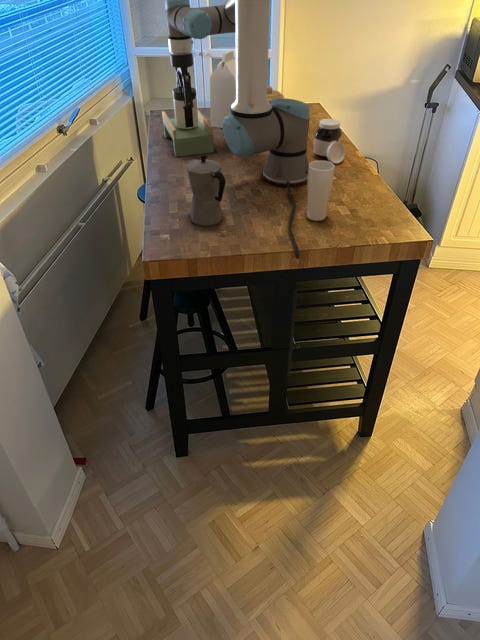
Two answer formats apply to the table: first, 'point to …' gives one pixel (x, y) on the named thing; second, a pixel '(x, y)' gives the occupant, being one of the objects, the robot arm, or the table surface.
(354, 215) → the table surface
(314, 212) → the drinking glass
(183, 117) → the jar
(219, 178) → the coffeepot
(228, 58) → the milk
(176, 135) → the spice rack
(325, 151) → the spread jar
